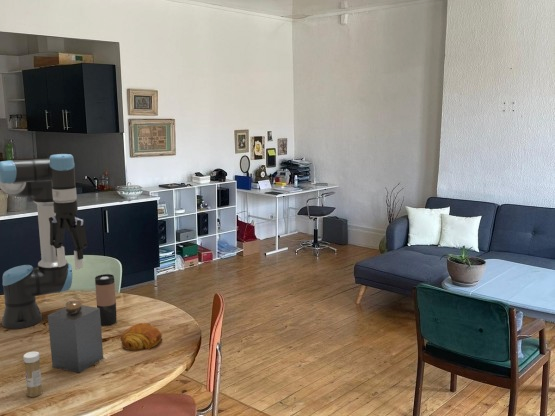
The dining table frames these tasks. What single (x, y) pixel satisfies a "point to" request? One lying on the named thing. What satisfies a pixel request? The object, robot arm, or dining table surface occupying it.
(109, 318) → the travel mug
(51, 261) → the robot arm
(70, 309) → the plunger
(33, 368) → the sprinkles bottle
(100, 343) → the grey peg holder block
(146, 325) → the croissant
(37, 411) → the dining table surface
